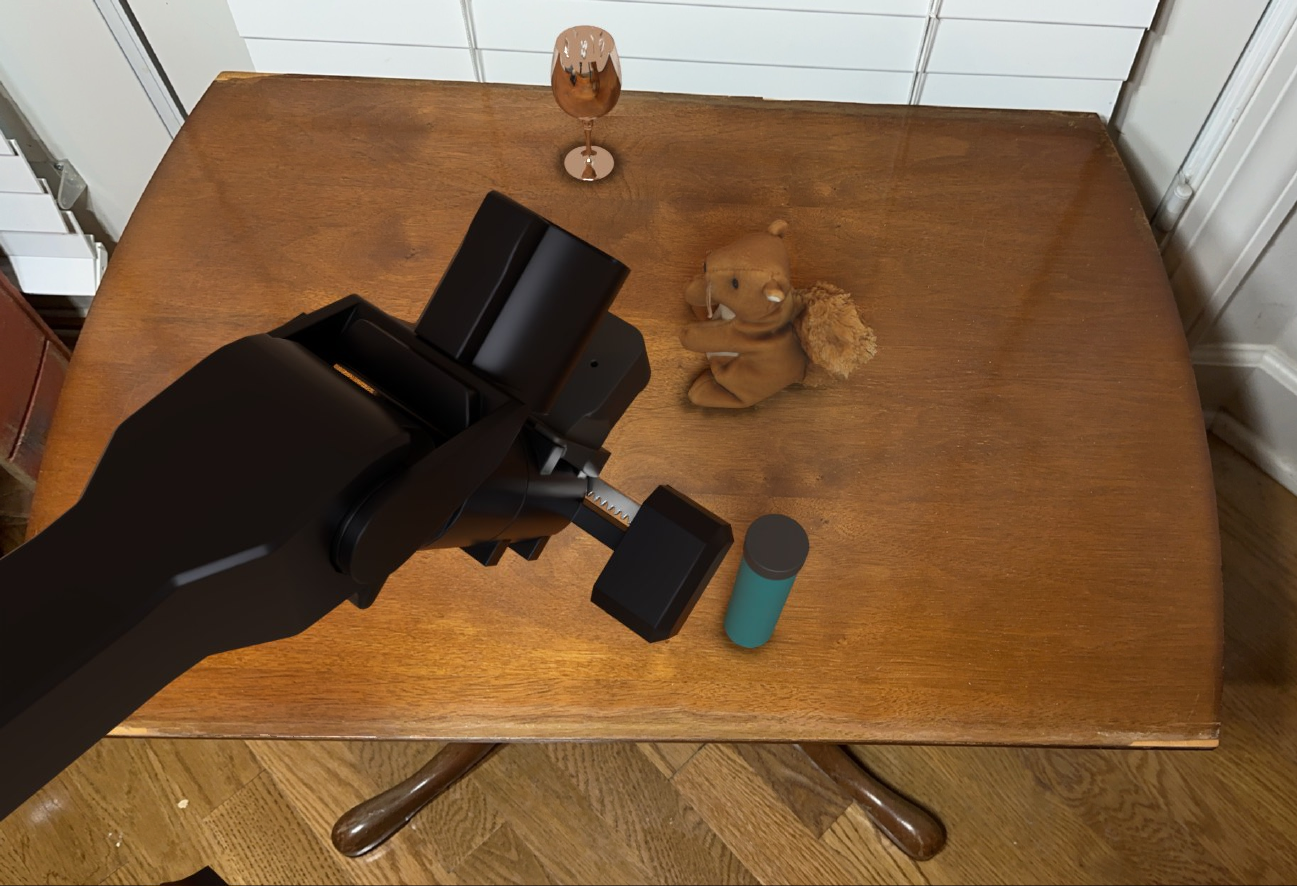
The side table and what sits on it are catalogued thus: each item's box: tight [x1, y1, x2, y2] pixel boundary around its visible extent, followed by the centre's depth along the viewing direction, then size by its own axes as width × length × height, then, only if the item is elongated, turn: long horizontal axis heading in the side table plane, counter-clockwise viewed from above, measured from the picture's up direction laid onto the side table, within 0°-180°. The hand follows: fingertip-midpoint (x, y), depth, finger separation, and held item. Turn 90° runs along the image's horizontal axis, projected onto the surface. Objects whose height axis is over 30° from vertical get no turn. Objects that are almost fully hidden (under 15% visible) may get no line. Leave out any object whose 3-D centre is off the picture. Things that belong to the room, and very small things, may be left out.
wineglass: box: [550, 24, 623, 182], centre depth 77 cm, size 6×6×12 cm
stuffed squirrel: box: [679, 218, 878, 409], centre depth 65 cm, size 10×14×13 cm
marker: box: [723, 513, 810, 649], centre depth 54 cm, size 3×3×14 cm
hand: (598, 483), depth 51 cm, fingers open, 9 cm apart
